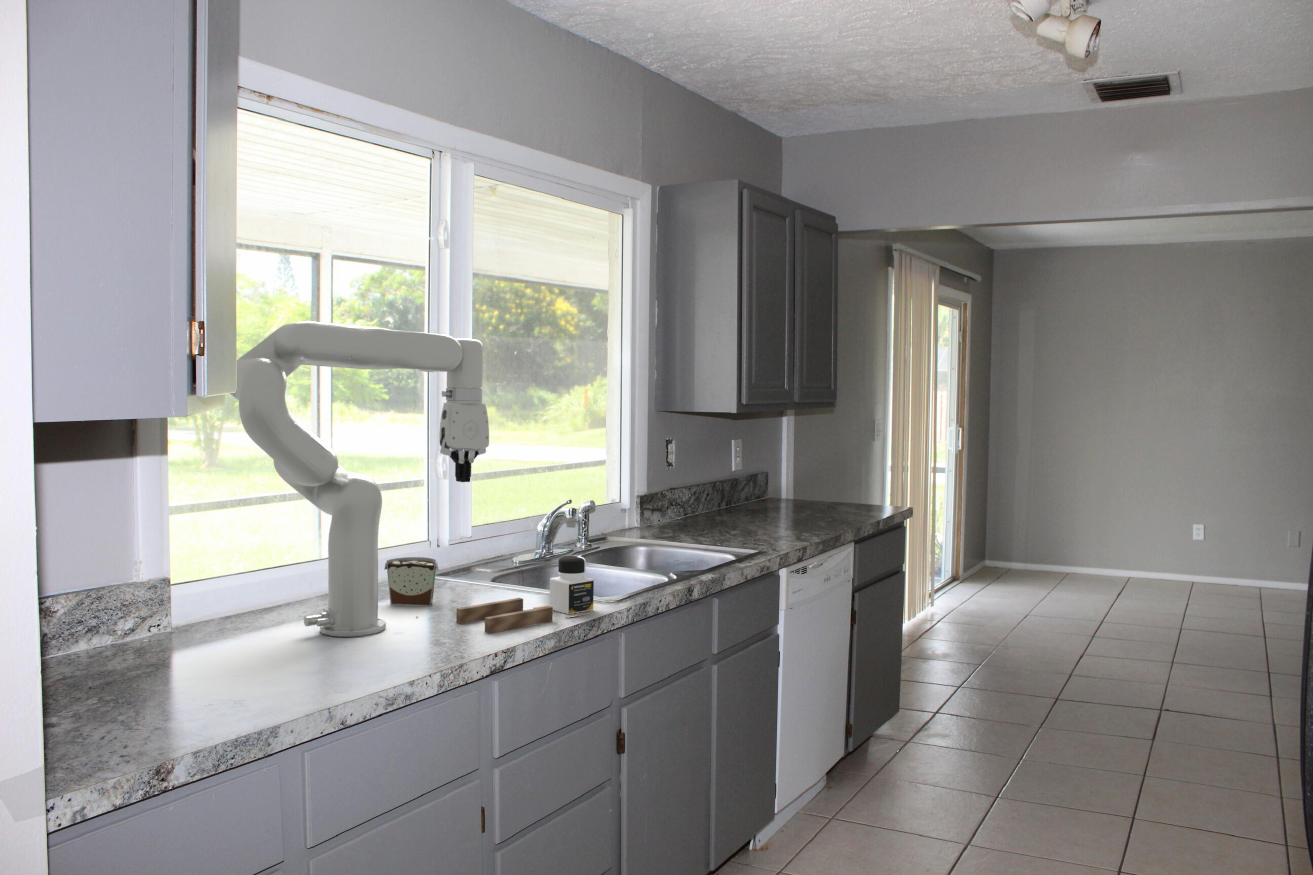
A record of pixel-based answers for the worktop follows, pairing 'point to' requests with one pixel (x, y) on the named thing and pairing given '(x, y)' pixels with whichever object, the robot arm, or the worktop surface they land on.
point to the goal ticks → (566, 617)
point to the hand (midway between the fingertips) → (463, 481)
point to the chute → (504, 615)
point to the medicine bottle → (571, 587)
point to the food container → (411, 580)
